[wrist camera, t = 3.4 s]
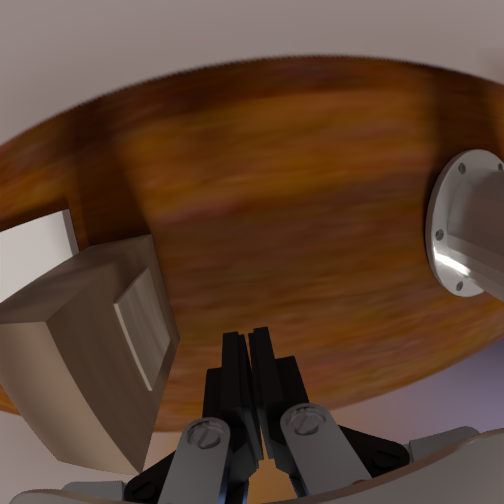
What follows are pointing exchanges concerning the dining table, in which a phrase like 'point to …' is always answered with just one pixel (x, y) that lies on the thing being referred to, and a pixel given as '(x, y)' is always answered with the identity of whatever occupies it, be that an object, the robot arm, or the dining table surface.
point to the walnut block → (91, 354)
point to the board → (34, 250)
